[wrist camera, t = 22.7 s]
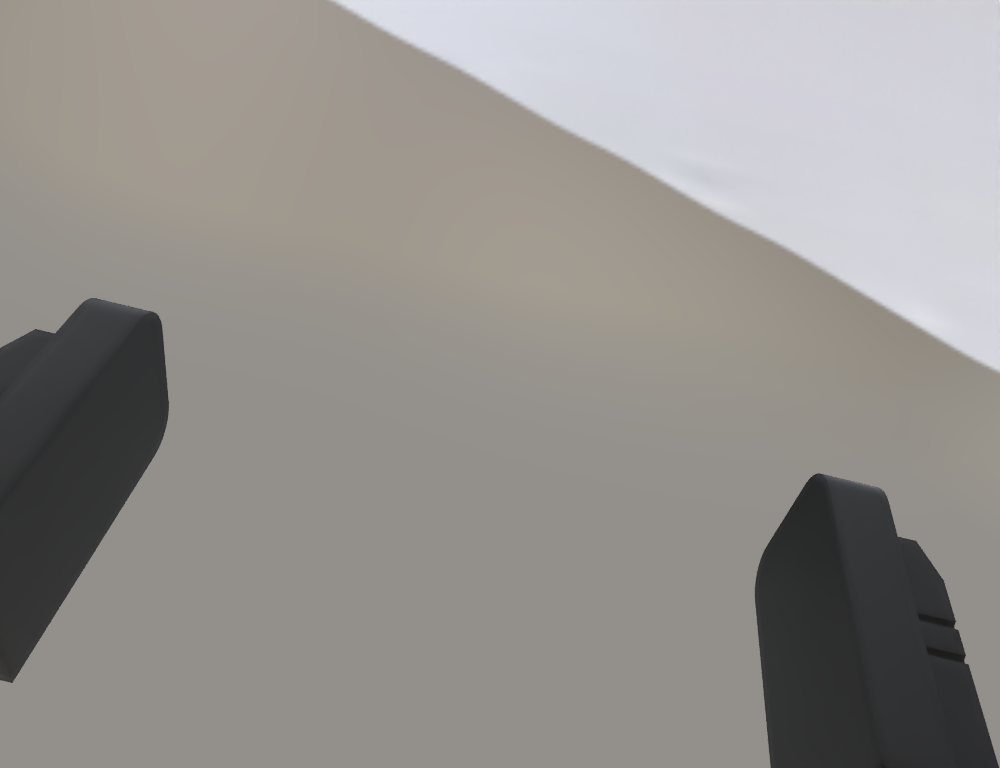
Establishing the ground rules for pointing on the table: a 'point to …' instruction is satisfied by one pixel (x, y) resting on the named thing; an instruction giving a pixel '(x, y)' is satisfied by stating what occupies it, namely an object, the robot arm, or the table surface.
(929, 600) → the robot arm
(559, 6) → the table surface
